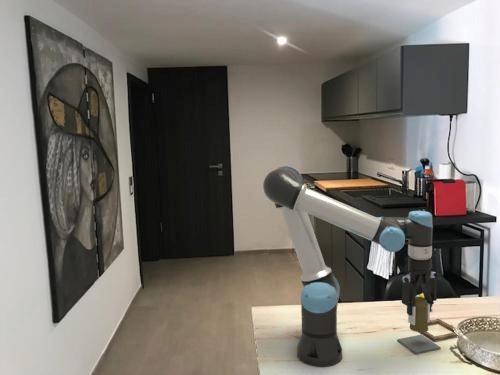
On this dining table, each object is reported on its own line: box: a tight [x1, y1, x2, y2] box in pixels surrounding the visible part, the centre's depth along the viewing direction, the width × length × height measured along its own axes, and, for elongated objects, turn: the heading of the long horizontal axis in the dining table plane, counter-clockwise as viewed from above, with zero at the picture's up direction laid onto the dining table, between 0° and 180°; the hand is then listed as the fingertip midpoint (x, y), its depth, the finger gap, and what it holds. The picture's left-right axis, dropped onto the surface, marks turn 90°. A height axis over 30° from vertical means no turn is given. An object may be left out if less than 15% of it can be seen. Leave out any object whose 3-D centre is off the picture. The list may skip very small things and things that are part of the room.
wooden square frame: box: [418, 318, 458, 343], centre depth 163 cm, size 13×13×1 cm
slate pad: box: [396, 334, 442, 355], centre depth 153 cm, size 10×10×1 cm
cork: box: [409, 297, 429, 333], centre depth 151 cm, size 6×6×11 cm
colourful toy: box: [416, 292, 433, 308], centre depth 184 cm, size 8×3×6 cm, turn 20°
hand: (418, 322), depth 152 cm, fingers closed on cork, 5 cm apart
